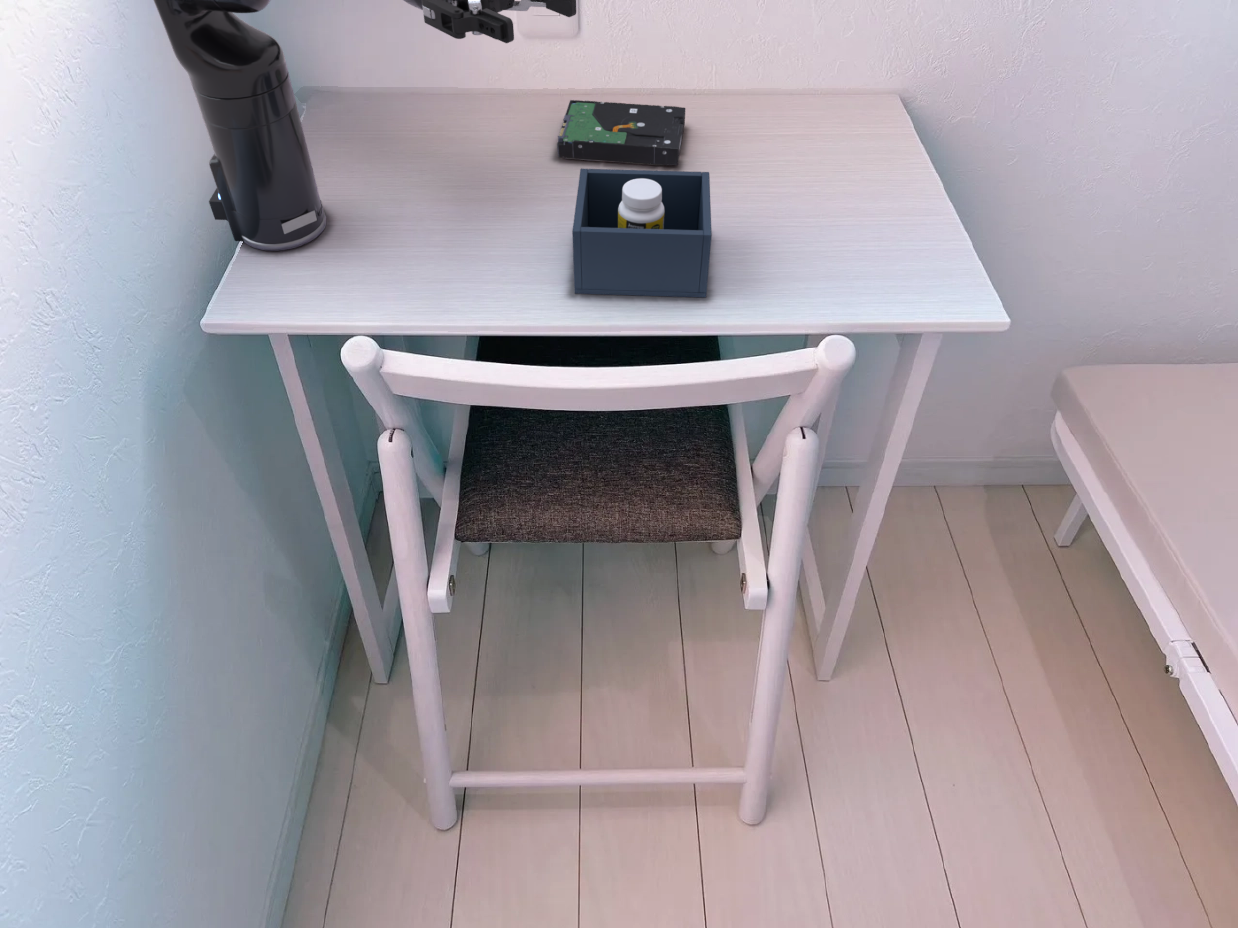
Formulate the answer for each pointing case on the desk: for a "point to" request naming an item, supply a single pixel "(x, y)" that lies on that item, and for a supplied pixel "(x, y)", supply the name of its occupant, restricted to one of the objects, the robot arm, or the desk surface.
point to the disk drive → (622, 132)
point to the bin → (642, 236)
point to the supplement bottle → (641, 205)
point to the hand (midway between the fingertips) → (543, 19)
